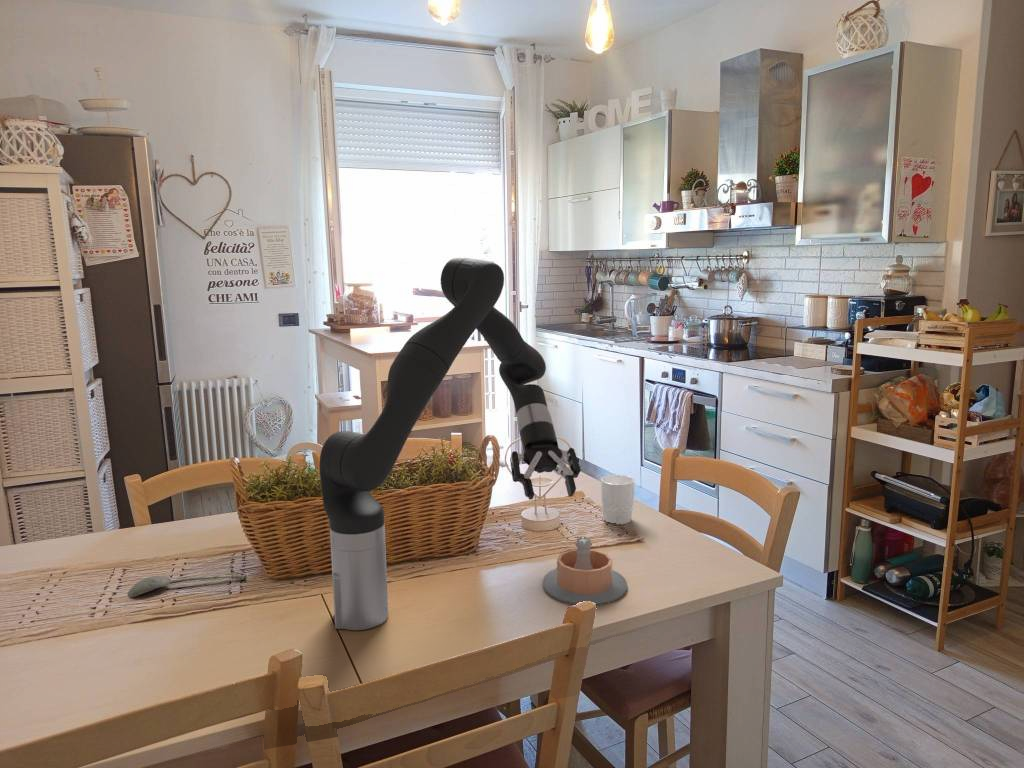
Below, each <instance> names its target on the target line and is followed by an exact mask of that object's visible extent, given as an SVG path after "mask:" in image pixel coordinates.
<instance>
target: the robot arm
mask: <svg viewBox="0 0 1024 768" xmlns="http://www.w3.org/2000/svg"><path fill="white" fill-rule="evenodd" d="M504 284H505V275H504V271H503V268H502V267H501V266H500V265H499V264H497V263H495V262H493V261H489V260H485V259H476V258H469V257H455V258H454V257H453V258H451V259H450V260H448V261H447V262H446V263H445V265H444V266H443V268H442V271H441V274H440V286H441V287H440V288H441V291H442V293H443V295H444V297H445V298H446V299H447V301H448V302H449V303H450V304H451V305H453V308H452V309H451V310H450V311H448V312H447V313H446V314H444V315H443V316H440V317H439V318H437V319H436V320H435V321H432V322H431V323H429V324H427V325H426V326H424V327H423V328H421V329H419V330H418V331H416V332H415V333H414V334H413V335H411V336H410V337H409V339H407V341H406V342H405V344H404V345H403V346H402V348H401V349H400V351H399V352H398V354H397V355H396V357H395V359H394V360H393V362H392V363H391V365H390V367H389V371H388V375H387V381H386V382H387V383H386V398H385V403H384V405H383V406H384V407H383V409H382V411H381V413H380V415H379V416H378V418H377V419H376V421H375V423H374V424H373V425H372V426H371V428H370V429H369V430H368V431H367V432H366V433H365V434H364V433H361V432H354V431H349V430H340V431H336V432H333V433H332V434H331V435H330V436H328V438H327V439H326V440H325V442H324V443H323V446H322V447H321V450H320V455H319V479H320V486H321V495H322V497H321V498H322V504H323V510H324V512H325V514H326V516H327V519H328V522H329V534H330V535H329V536H330V556H331V557H330V558H331V574H332V575H331V578H332V591H333V610H334V611H333V613H334V629H335V630H340V629H341V630H342V629H344V630H348V631H364V630H368V629H373V628H376V627H378V626H380V625H382V624H383V623H385V622H386V620H387V619H388V617H389V602H388V601H389V597H388V575H387V574H388V571H387V553H386V551H387V550H386V547H387V546H386V528H385V526H386V524H385V509H384V508H383V505H382V504H380V502H379V501H377V499H375V497H373V495H372V494H371V491H373V490H376V489H377V488H379V487H380V486H381V485H382V484H383V483H384V482H385V481H386V479H388V477H389V475H390V473H391V471H392V470H393V468H394V467H395V464H396V462H397V460H398V458H399V456H400V454H401V452H402V450H403V447H404V445H405V444H406V441H407V440H408V438H409V436H410V434H411V432H412V430H413V428H414V426H415V425H416V423H417V422H418V419H419V418H420V416H421V415H422V413H423V411H424V410H425V408H426V407H427V404H428V403H429V401H430V400H431V398H432V397H433V395H434V394H435V393H436V390H437V389H438V388H439V386H440V385H441V383H442V381H443V380H444V379H445V376H446V375H447V374H448V372H449V370H450V368H451V366H452V365H453V363H454V361H455V360H456V358H457V357H458V355H459V354H460V352H461V351H462V349H463V348H464V346H465V345H466V344H467V342H468V340H469V339H470V337H471V336H472V334H473V333H474V332H475V331H476V330H477V331H478V333H479V334H480V335H481V336H482V337H483V338H484V340H485V341H486V343H487V344H488V346H489V348H490V349H491V351H492V352H493V354H494V355H495V357H496V359H498V361H499V362H500V364H499V368H498V372H499V376H500V378H501V380H502V382H503V383H504V385H505V386H506V388H507V390H508V391H509V393H510V395H511V398H512V401H513V405H514V409H515V413H516V421H517V430H518V433H519V437H520V441H521V447H522V451H523V453H518V452H517V451H516V450H515V451H512V452H511V455H510V458H509V462H510V470H511V476H512V481H513V482H514V483H517V482H519V483H521V484H522V487H523V491H524V496H525V497H526V498H527V499H528V500H533V499H534V497H535V493H534V492H535V491H534V488H533V483H532V479H531V477H532V475H533V474H534V472H537V474H541V473H552V472H554V473H555V474H556V475H558V476H561V477H562V479H564V480H565V481H564V483H565V487H566V491H567V496H568V497H569V498H570V497H573V496H574V494H575V492H576V490H577V486H576V482H575V479H577V478H578V477H579V475H580V473H581V471H582V469H581V466H580V464H579V460H578V458H577V454H576V451H575V448H573V447H569V449H568V450H561V448H559V444H558V440H557V435H556V431H555V427H554V423H553V419H552V415H551V413H550V411H549V407H548V404H547V400H546V396H545V392H544V390H543V388H542V387H541V386H540V385H538V384H532V382H535V381H538V380H540V379H542V378H543V377H544V375H545V374H546V371H547V366H546V362H545V359H544V357H543V355H542V354H540V352H539V351H538V350H537V349H536V348H535V347H533V346H531V345H530V344H529V343H527V341H525V340H524V339H523V337H522V335H521V333H520V331H519V330H518V328H517V327H516V325H515V323H513V322H512V321H511V319H510V318H508V317H507V316H506V315H505V314H503V313H502V312H501V311H500V310H498V309H497V308H496V307H495V305H496V304H497V302H498V300H499V299H500V297H501V294H502V292H503V288H504ZM562 458H564V460H565V462H564V461H563V460H562ZM522 461H524V463H525V464H526V465H527V466H528V467H527V469H526V470H525V472H524V473H522V472H521V468H520V467H521V466H520V464H521V463H522ZM566 462H567V463H568V466H567V463H566Z"/></svg>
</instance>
